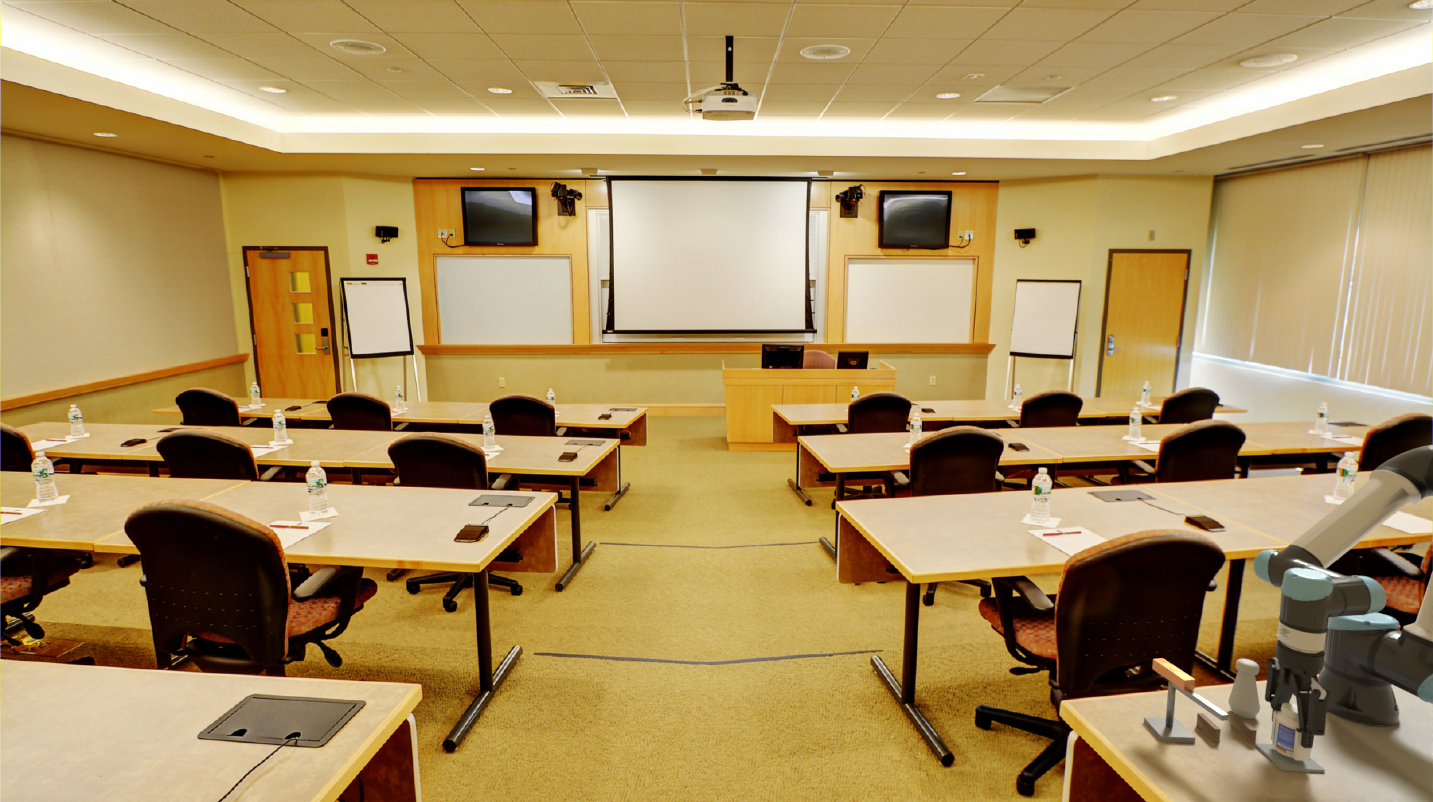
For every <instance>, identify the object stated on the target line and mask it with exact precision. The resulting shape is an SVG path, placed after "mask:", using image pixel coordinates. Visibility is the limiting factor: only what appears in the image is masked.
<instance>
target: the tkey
mask: <svg viewBox="0 0 1433 802" xmlns="http://www.w3.org/2000/svg"><path fill="white" fill-rule="evenodd" d="M1152 670H1153V671H1155V672H1156V673H1158V674H1159V675H1160V676H1162V677H1163V678H1164V679H1167V680H1168V684H1167V685H1168V688H1167V697H1166V698H1167V699H1166V712H1165V713H1166V714H1165V718H1166V723H1165V725H1166V727H1169V728H1173V720H1174V718H1175V717H1174V716H1175V704H1176V692H1177V691H1178V692H1179V693H1181V694H1183V695H1184V696H1185V697H1187V698H1188V699H1190V700H1191V701H1193V702H1194V703H1195V704H1197V706H1200V707H1201V708H1202V709H1204V710H1206V711H1207V712H1208V713H1210V714H1211V715H1213V716H1214V717H1215V718H1217V719H1218V720H1220V721H1221V722H1225V721H1228V720H1229V714H1228V713H1227V712H1225V711H1224V710H1223V709H1221V708H1220V707H1218V706H1217V705H1215V704H1213V703H1212V702H1210V701H1209V700H1208V699H1206V698H1204V696H1202V695H1200V694H1199V693H1197V692H1195V691H1194V690H1195V688H1196V687H1195V686H1196V679H1195V678H1194V677H1192V676H1191V675H1189V674H1188V673H1186V672H1184V671H1183V670H1182V669H1180V668H1179V667H1177V666H1176V665H1174V664H1173V663H1170V661H1167V659H1165V658H1163V657H1162V658H1153V659H1152Z"/></svg>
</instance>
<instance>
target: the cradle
mask: <svg viewBox="0 0 1433 802" xmlns="http://www.w3.org/2000/svg"><path fill="white" fill-rule="evenodd" d="M1230 721H1231V722H1230V727H1231V728H1232V729H1233V730H1235V731H1236V732H1237V733H1238V734H1239V736H1241V737H1242V738H1243V739H1244V740H1245V741H1247V742H1248V743H1249V744H1257V743H1256V742H1257V729H1256V728H1255V727H1253V726H1252V725H1251V724H1250V723H1249V722H1248V721H1246V719H1245V718H1242V717H1241V716H1239V715H1238V714H1234V713H1231V720H1230ZM1196 727H1198V728H1199V729H1200V730H1201V732H1203V733H1204V734H1205V736H1207V737H1208V738H1209V739H1210V740H1211V741H1212V742H1213V743H1220V741H1221V740H1220V739H1221V731H1222V730H1221V728H1220V727H1219V726H1218V725H1217V724H1215V722H1213V720H1211V719H1210V718H1209V717H1208V716H1207V715H1206V714H1205V713H1203V712H1197V715H1196Z"/></svg>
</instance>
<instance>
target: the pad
mask: <svg viewBox="0 0 1433 802" xmlns="http://www.w3.org/2000/svg"><path fill="white" fill-rule="evenodd" d="M1254 746H1255V748H1257V750H1258V751H1260V752H1261V753H1262V754H1263V755H1264V756H1266V758H1267V759H1268V760H1270V761H1271V762H1272V763H1273V764H1274V765H1275V766H1276V767H1277V768H1278V769H1280V771H1282V772H1294V773H1295V772H1296V773H1297V772H1301V773H1324V774H1325V772H1326V769H1325V768H1323V766H1322V765H1320V764H1319V763H1318V762H1316V761H1315V760H1313V758H1311V757H1310V761H1302V760H1295V759H1293V758H1291V757H1288V756H1285V755H1283V754H1281V753H1279V752H1278V751H1276V750H1275V749H1274V747H1273V743H1254Z"/></svg>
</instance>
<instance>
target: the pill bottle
mask: <svg viewBox="0 0 1433 802" xmlns="http://www.w3.org/2000/svg"><path fill="white" fill-rule="evenodd" d="M1296 728H1300V727H1299V718H1298V710H1297V704H1294V703H1291V702H1289V703H1283V704H1282V707H1281V712H1279V713H1277V715H1276V720H1275V728H1274V736H1273V741H1272V744H1273V747H1274V749H1275V750H1276V751H1278V752H1279V753H1281V754H1283V755H1285V756H1288V757H1291V758H1293V751H1294V741H1295V732H1296Z"/></svg>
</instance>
